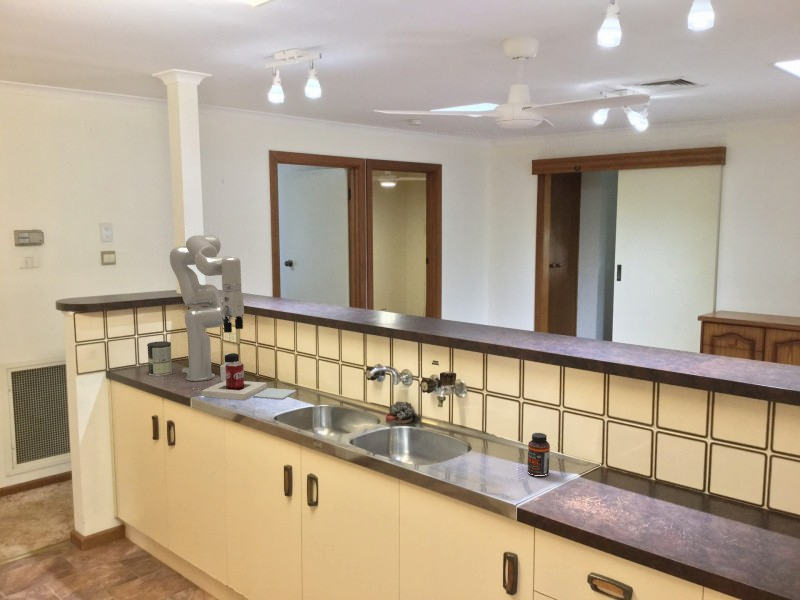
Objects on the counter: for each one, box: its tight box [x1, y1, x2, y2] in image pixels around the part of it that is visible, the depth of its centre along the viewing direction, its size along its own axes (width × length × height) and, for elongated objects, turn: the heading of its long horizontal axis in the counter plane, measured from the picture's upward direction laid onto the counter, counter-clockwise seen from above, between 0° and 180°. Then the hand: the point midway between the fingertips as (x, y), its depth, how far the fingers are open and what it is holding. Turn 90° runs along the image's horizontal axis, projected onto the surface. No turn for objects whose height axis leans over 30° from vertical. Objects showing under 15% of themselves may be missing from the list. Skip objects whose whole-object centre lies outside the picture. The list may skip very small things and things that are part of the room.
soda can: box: [225, 361, 245, 390], centre depth 276 cm, size 7×7×12 cm
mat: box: [252, 387, 298, 401], centre depth 274 cm, size 13×13×1 cm
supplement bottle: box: [526, 432, 551, 475], centre depth 188 cm, size 6×6×11 cm
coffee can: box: [146, 340, 173, 377], centre depth 311 cm, size 10×10×14 cm
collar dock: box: [201, 380, 268, 401], centre depth 277 cm, size 19×19×2 cm
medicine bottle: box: [219, 352, 240, 382], centre depth 297 cm, size 7×7×12 cm
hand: (233, 330), depth 273 cm, fingers open, 9 cm apart
